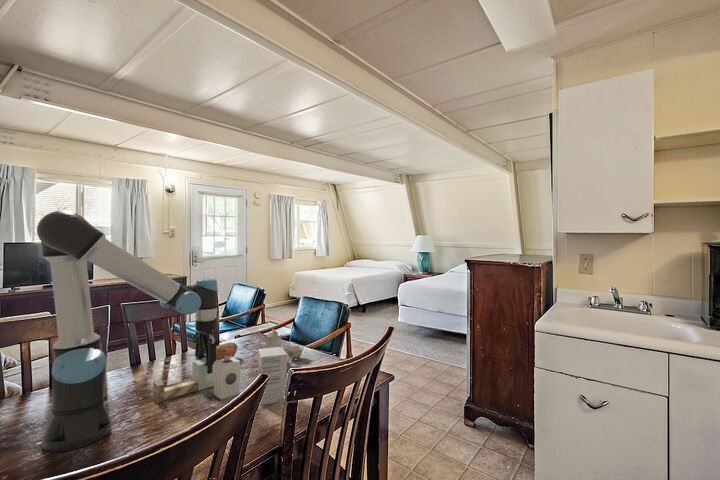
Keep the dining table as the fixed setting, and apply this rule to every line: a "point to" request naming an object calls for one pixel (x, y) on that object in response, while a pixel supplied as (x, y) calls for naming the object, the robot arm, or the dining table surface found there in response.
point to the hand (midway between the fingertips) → (204, 378)
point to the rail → (172, 390)
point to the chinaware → (275, 342)
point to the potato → (223, 346)
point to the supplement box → (273, 373)
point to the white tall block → (226, 378)
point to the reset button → (227, 354)
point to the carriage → (201, 374)
